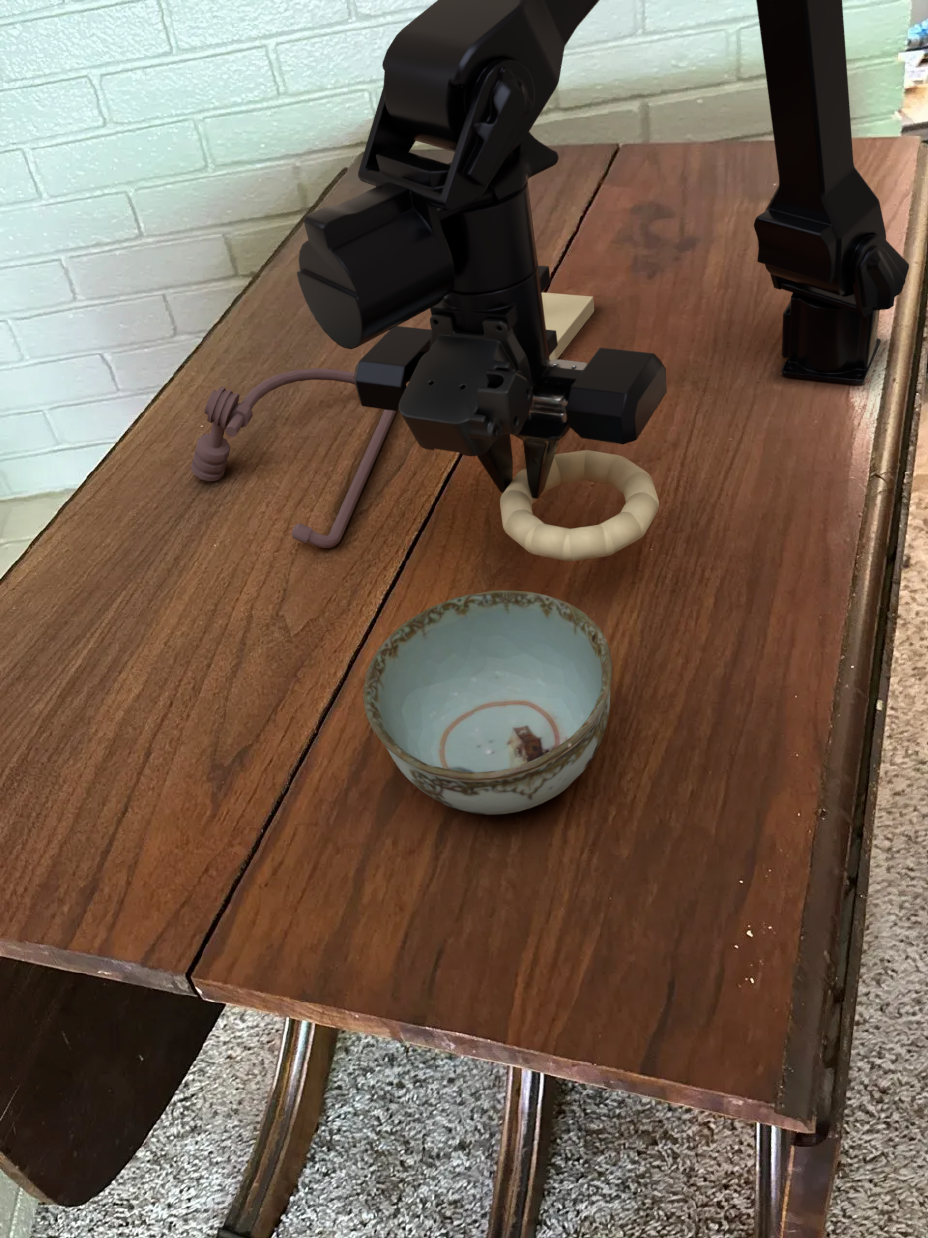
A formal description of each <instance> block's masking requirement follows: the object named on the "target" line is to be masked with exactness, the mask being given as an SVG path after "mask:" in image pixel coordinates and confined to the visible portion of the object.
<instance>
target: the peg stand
mask: <svg viewBox="0 0 928 1238" xmlns="http://www.w3.org/2000/svg"><path fill="white" fill-rule="evenodd" d="M542 301H543V309H544V317H545V326H546V330H556V333H557V342H558V346H557V347H556V348H555V350H554V351H553V352H552V353H551V355H550V356H549V358H550V361H552V360H559V358H560V356H562V354H563V353H564V351H565V350H566V349H567V348H568V346H569V345H570V344H571V342H572V341H573V340H574V338H576V336H577V334H578V333H579V332H580V330H581V329H582V328H583V327H584V325H585V324H586V323H587V321H588V320H589V319H590V318H591V316H593V314H594V312H595V305H594V303H595V302H594V301H595V300H594V296H588V295H579V294H567V293H566V294H565V293H555V292H544V291H543V292H542Z"/></svg>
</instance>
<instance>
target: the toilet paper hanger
mask: <svg viewBox="0 0 928 1238" xmlns="http://www.w3.org/2000/svg"><path fill="white" fill-rule="evenodd" d="M354 373H355V371H354V372H353V371H348V370H341V369H335V368H318V367H317V368H316V367H313V368H304V369H303V368H301V369H294V370H290V371H286V372H281V373H279V374H275V375H273V376H271V377H269V378H267V379H265V380H263V381H262V382H260V383H258V384H257V385H256V386H254V387H253V388H252V389H251V390H250V391H249V392H248V394H246V396H245V397H244V398H243V399H242V402H240V396H241V395H240V393H238V392H233V391H232V390H231V389H227V388H226V387H224V386H223V385H222V386H220V388H218V390H215V389H213V391H212V392H211V394H210V395H209V397H208V400H207V401H206V404H205V407H204V411H203V413H204V414H205V415H206V416H207V418H206V421H207V422H208V423H210V424H211V428H210V432H209V433H204V434H202V435H201V436H199V438H197V441H196V445H195V449H194V454H193V458H192V462H191V466H190V469H191V471H192V473H193V475H194V476H196V477H197V478H198V479H200V480H202V481H206V482H215V481H219V480H220V479H222V478H223V477H224V474H225V472H226V471H225V470H226V467H227V463H228V459H229V457H230V453H231V444H230V443H229V442H228V440H227V439H226V438H225V437H224V435H225V434H226V435H227V436H229V437H233V438H234V437H236V436H237V434H238V433H239V432H240V430H241V429H242V428H246V427H247V426H248V424H249V423H250V421H251V419H252V418H253V415H254V413H253V408H254V406H255V405H256V404H257V403H258V402H259V401H260V399H262V398H263V397H264V396H266V395H267V394H269V393H270V392H273V391H274V390H276V389H279V388H281V387H282V386H286V385H290V384H293V383H296V382H305V381H314V380H315V381H333V382H334V381H335V382H341V383H347V384H352V385H355V383H354V379H353V378H354ZM383 410H384V411H383V412H382V415H381V417H380V419H379V422H378V424H377V426H376V428H375V430H374V433H373V435H372V437H371V439H370V441H369V444H368V446H367V448H366V450H365V453H364V456H363V457H362V459H361V461H360V464H359V466H358V468H357V471H356V473H355V475H354V477H353V480H352V482H351V483H350V486H349V489H348V490H347V493H346V495H345V498H344V499H343V501H342V504H341V505H340V506H341V507H340V508H339V511H338V513H337V515H336V518H335V520H334V522H333V525H332V526H331V529H330V531H329V533H328V534H327V535H325V534H322V533H319V532H317V531H314V530H313V528H312V527H310V526H307V525H305V524H304V523H303V524H302V523H300V522H299V523H296V524H295V525H294V526H293V528H292V531H291V537H292V539H294V540H296V541H298V542H301V543H303V544H305V545H306V544H307V543H308V544H310V545H313V546H315V547H318V548H321V549H331V548H334V547H336V546H337V545H338V544H339V543H340V541H341V540H342V538H343V536H344V534H345V532H346V529H347V526H348V524H349V522H350V519H351V517H352V515H353V513H354V510H355V508H356V506H357V504H358V502H359V499H360V496H361V494H362V491H363V489H364V487H365V484H366V483H367V480H368V478H369V476H370V473H371V472H372V469H373V466H374V464H375V461H376V459H377V458H378V455H379V453H380V450H381V448H382V445H383V443H384V441H385V439H386V436H387V434H388V432H389V430H390V427H391V425H392V423H393V420H394V417H395V416H396V413H397V411H392V410H385V409H383Z"/></svg>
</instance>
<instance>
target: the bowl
mask: <svg viewBox="0 0 928 1238" xmlns="http://www.w3.org/2000/svg"><path fill="white" fill-rule="evenodd" d="M612 681H613V660H612V654H611V648H610V647H609V644H608V642H607V638H606V637H605V635H604V633H603V631H602V629H601V628H600V626H598V624H597V623H596V622H595V621H594V620H593V619H592V618H591V617H590V616H589V615H587V614H586V613H585V612H584V611H582V610H581V609H580V608H579V607H576V606H575V605H573V604H570V603H569V602H566V601H564V600H562V599H560V598H557V597H555V596H550V595H547V594H541V593H539V592H538V593H537V592H533V591H523V590H488V591H483V592H476V593H471V594H465V595H461V596H456V597H454V598H451V599H447V600H445V601H443V602H441V603H437V604H435V605H432V606H430V607H429V608H426V609H424V610H423V611H421V612H419V613H418V614H415V615H414V616H413V617H411V618H409V619H408V620H406V621H405V622H404V623H402V624H400V626H399V627H397V628H396V629H395V630H394V631H393V632H392V633H391V634H390V635H389V636H388V637H387V638H386V640H384V642H383V643H382V644H381V645H380V646H379V647H378V649H377V651H376V652H375V653H374V655H373V657H372V659H371V661H370V663H369V665H368V668H367V669H366V673H365V678H364V683H363V694H362V700H363V707H364V712H365V716H366V718H367V720H368V723H369V725H370V727H371V730H372V731H373V732H374V733H375V735H376V736H377V738H378V739H379V740H380V741H381V743H382V744H383V745H384V747H385V748H386V750H387V752H388V754H389V755H390V757H391V759H392V761H394V763H395V765H396V766H397V768H398V769H399V770H400V772H401V773H402V774H403V775H404V777H405V778H406V779H408V780H409V781H410V782H411V783H412V784H413V785H414V786H415V787H416V788H417V789H418V790H420V792H422V793H423V794H425V795H426V796H428V797H430V798H431V799H433V800H435V801H436V802H439V803H440V804H442V805H445V806H446V807H449V808H452V809H455V810H459V811H461V812H466V813H471V814H476V815H477V814H478V815H506V814H512V813H518V812H522V811H525V810H529V809H532V808H534V807H537V806H539V805H542V804H544V803H545V802H547V801H549V800H552V799H554V798H555V797H557V796H558V795H560V794H561V793H563V792H564V791H565V790H566V789H567V788H569V787H570V786H571V785H572V784H573V783H574V782H575V781H576V780H577V779H578V778H579V777H580V776H581V775H582V774H583V773H584V772H585V771H586V769H587V768H588V766H589V765H590V763H591V762H592V761H593V759H594V757H595V756H596V754H597V753H598V749H599V748H600V746H601V744H602V742H603V739H604V736H605V733H606V729H607V726H608V724H609V723H608V722H609V715H610V710H611V709H610V707H611V687H612Z"/></svg>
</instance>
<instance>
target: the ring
mask: <svg viewBox="0 0 928 1238" xmlns="http://www.w3.org/2000/svg"><path fill="white" fill-rule="evenodd" d="M585 481H588V482H593V483H599V484H603V485H607V486H608V485H609V486H611V487H612V488H614V489H616V490H617V491H618V492H619V493H621V494H622V495H623V496H624V500H625V503H624V506H623V507H622V509H621V510H620V511H619V513H618V514H616V515H614V516H612V517H610V518H608V519H607V520H604V521H603V522H602V523H599V524H594V525H588V526H587V525H586V526H580V527H574V528H568V527H564V526H563V527H562V526H558V525H552V524H548V523H545V522H543V521H542V520H541V519H540V518H538V517H537V516H536V515H535V514H534V513H533V507H532V506H533V504H534V503H535V502H536V500H537V499H535V498H532V496H531V493H530V489H529V486H528V480H527V471H526V467H524V468H523V469H521V470H519V471H518V472H517V474H516V475H515V476H514V477H513V480H512V482H511V483H510V484H509V486H508V487H507V489H506V490H505V491H504V493H502V494H501V496H500V499H499V505H500V506H499V507H500V515H501V522H502V523H501V524H502V528H503V530H504V532H505V533H506V534H507V535H508V536H509V537H510V538H511V539H512V540H513V541H514V542H516V543H517V544H518V545H519V546H521V547H522V548H523V549H524V550H526V551H527V552H528V553H529V554H532V555H536V556H541V557H546V558H549V559H554V560H557V561H558V560H559V561H563V562H568V563H569V562H576V561H584V560H592V559H598V558H607V557H609V556H613V554H615V553H616V554H617V552H619V551H621V550H623V549H625V548H626V547H628V546H630V545H632V544H634V543H635V542H637V541H639V540H640V539H642V538H643V537H644V536H645V534H646V533H647V532H648V529H649V528H650V526H651V524H652V522H653V521H654V519H655V517H656V515H657V513H658V512H659V508H660V501H659V497H658V494H657V490H656V487H655V483H654V480H653V478H652V476H651V474H650V473H648V472H647V471H646V470H644V469H643V468H642V467H640V466H638V464H636V463H634V462H633V461H631V460H630V459H628V458H626V457H625V456H623V455H619V454H613V453H607V452H603V451H602V452H601V451H596V450H589V449H584V450H577V451H571V452H563V453H557V454H556V453H555V456H554V459H553V462H552V466H551V469H550V472H549V475H548V478H547V481H546V485H545V488H544V490H543V492H542V494H544V493H546V492H547V491H549V490H551V489H553V488H556V487H557V486H559V485H564V484H571V483H572V484H573V483H578V482H585Z"/></svg>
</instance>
